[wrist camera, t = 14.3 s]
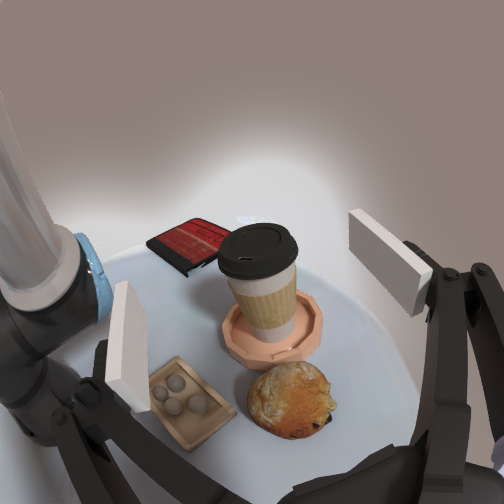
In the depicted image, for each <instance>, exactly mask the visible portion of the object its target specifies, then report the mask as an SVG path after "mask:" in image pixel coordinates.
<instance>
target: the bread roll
mask: <svg viewBox="0 0 504 504" xmlns="http://www.w3.org/2000/svg"><path fill="white" fill-rule="evenodd" d="M330 385H331V383H329V382H328V381H327V379H326V378H325V376H324V374H323V373H322V372H321V371H320V370H319V369H318V368H316V367H315V366H314V365H312V364H310V363H307V362H305V361H293V362H287V363H282V364H280V365H277V366H276V367H273V368H272V369H270V370H269V371H267V372H265V373H264V374H262V375H260V376H259V377H258V378H257V379H256V380H255V381H254V383H253V384H252V386H251V388H250V390H249V393H248V398H247V405H248V410H249V413H250V415H251V417H252V419H253V420H254V421H255V422H256V424H258V425H259V426H260V427H261V428H263V429H266V430H267V431H269V432H271V433H272V434H274V435H276V436H279V437H281V438H284V439H289V440H295V439H300V438H307V437H309V436H311V435H313V434H314V433H316V432H318V431H319V430H321V429H322V428H323V427H324V425H326V424H328V423H330V422H331V421H332V416H331V414H330V413H329V412H332V411H334V410H335V408H336V407H337V403H336V401H334V400H333V399H332V397H331V396H330V391H329V390H330Z"/></svg>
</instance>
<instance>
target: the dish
mask: <svg viewBox="0 0 504 504" xmlns="http://www.w3.org/2000/svg"><path fill="white" fill-rule="evenodd" d="M322 328H323V314H322V311H321V310H320V308H319V306H318V305H317V303H316V302H315V300H314V298H313V297H312V296H310V295H308V294H306V293H304V292H302V291H299V290H297V289H296V311H295V328H294V331H293V333H292V334H291V335H290V336H289V337H288V338H287V339H285V340H283V341H281V342H278V343H265V342H262V341H260V340H258V339H257V338H256V337H255V335H254V333H253V331H252V329H251V327H250V325H249V323H248V322H247V321H246V319H245V317H244V315H243V313H242V311H241V309H240V307H239V305H238V303H236V304H234V305H233V306H232V307H231V308H230V309H229V311H228V313H227V315H226V318H225V320H224V322H223V324H222V330H223V334H224V338H225V342H226V346H227V348H228V351H229V353H230V355H231V356H232V357H233V358H235V359H236V360H237V361H239V362H240V363H241V364H242V365H244V366H245V367H246V368H248V369H253V370H261V371H269V370H270V369H272V368H273V367H276V366H277V365H280V364H282V363H287V362H293V361H305V360H306V359H307V358H308V357H309V355H310V354H311V353H312V352H313V351H314V350H315V349H316V348H317V347H318V346H319V345H320V341H321V335H322Z"/></svg>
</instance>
